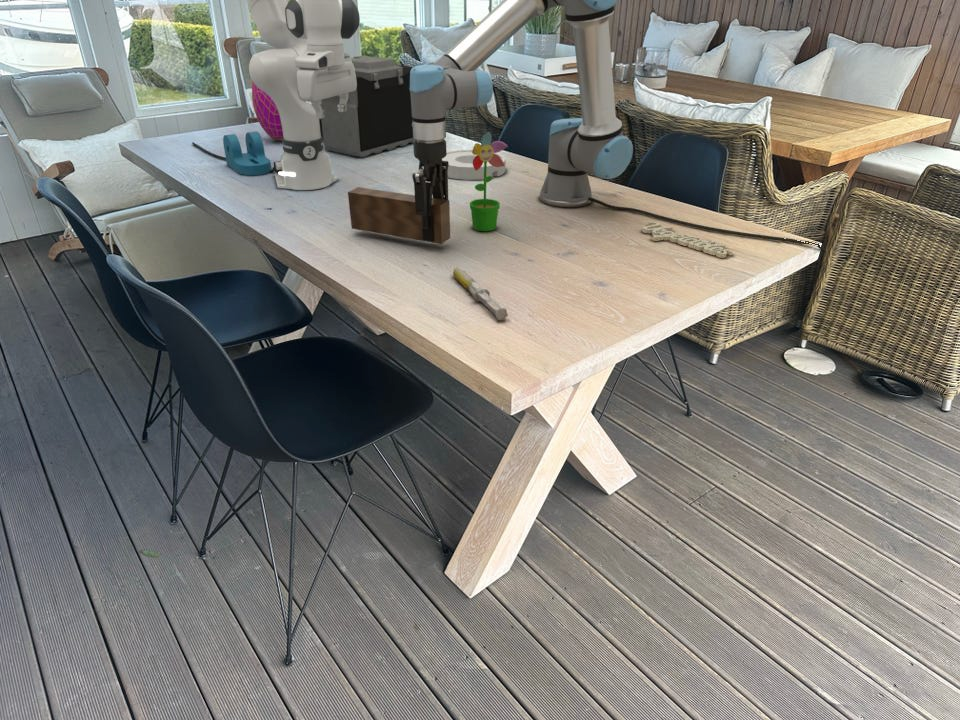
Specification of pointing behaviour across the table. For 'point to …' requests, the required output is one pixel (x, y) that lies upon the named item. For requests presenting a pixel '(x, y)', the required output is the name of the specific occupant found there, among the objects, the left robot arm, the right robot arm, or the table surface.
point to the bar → (396, 214)
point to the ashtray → (469, 166)
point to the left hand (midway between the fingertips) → (331, 114)
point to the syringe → (479, 293)
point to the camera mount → (246, 154)
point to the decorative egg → (267, 113)
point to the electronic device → (370, 110)
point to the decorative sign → (685, 240)
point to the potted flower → (485, 208)
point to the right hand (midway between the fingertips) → (433, 236)
